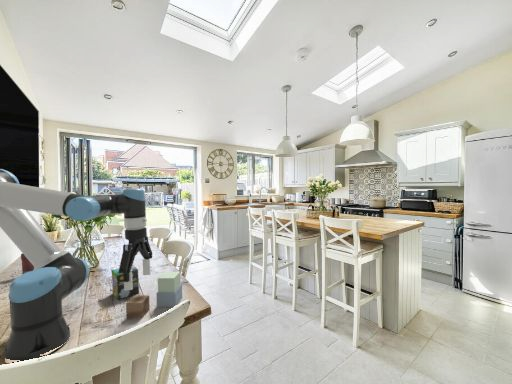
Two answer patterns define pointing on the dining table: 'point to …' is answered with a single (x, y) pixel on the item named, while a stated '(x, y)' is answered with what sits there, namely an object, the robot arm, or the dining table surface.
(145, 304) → the walnut block
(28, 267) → the can
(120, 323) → the dining table surface
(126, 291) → the chalk box
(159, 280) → the sage block
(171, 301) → the slate block
